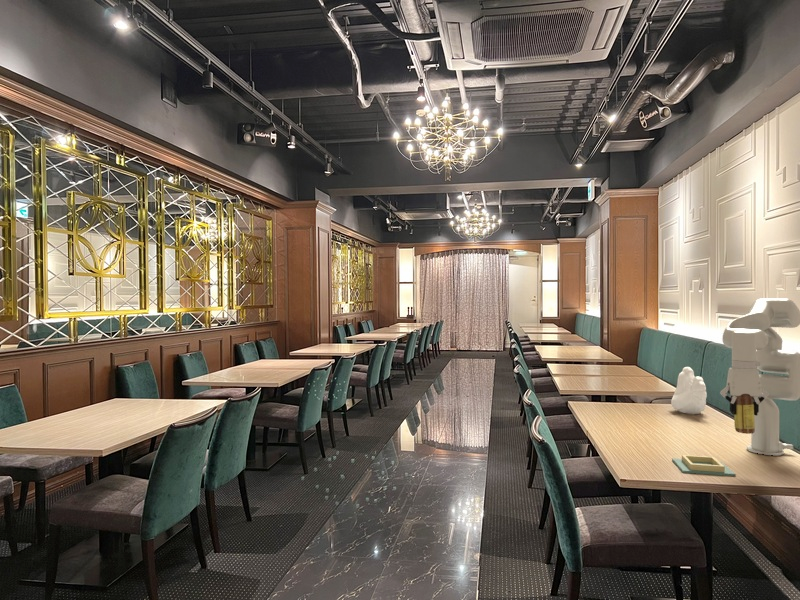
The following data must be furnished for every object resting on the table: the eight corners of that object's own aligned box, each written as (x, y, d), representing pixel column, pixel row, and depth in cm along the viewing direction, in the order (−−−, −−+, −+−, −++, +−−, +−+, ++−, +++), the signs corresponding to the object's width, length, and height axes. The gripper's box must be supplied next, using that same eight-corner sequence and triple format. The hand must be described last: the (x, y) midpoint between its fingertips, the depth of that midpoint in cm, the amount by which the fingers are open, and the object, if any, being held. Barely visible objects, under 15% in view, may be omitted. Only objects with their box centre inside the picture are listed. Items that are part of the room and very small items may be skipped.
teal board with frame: (721, 463, 206) (721, 456, 206) (735, 476, 192) (735, 468, 192) (672, 460, 210) (672, 453, 210) (682, 472, 196) (682, 464, 196)
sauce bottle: (756, 431, 198) (756, 377, 198) (753, 435, 194) (753, 379, 193) (735, 428, 203) (735, 375, 202) (731, 432, 198) (732, 377, 198)
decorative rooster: (668, 408, 308) (668, 364, 308) (699, 410, 304) (699, 365, 304) (680, 418, 284) (680, 370, 284) (713, 419, 280) (713, 371, 280)
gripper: (766, 364, 199) (766, 412, 200) (714, 363, 203) (714, 411, 204) (775, 367, 192) (775, 417, 193) (721, 366, 196) (721, 415, 197)
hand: (744, 413), depth 198 cm, fingers closed on sauce bottle, 6 cm apart
